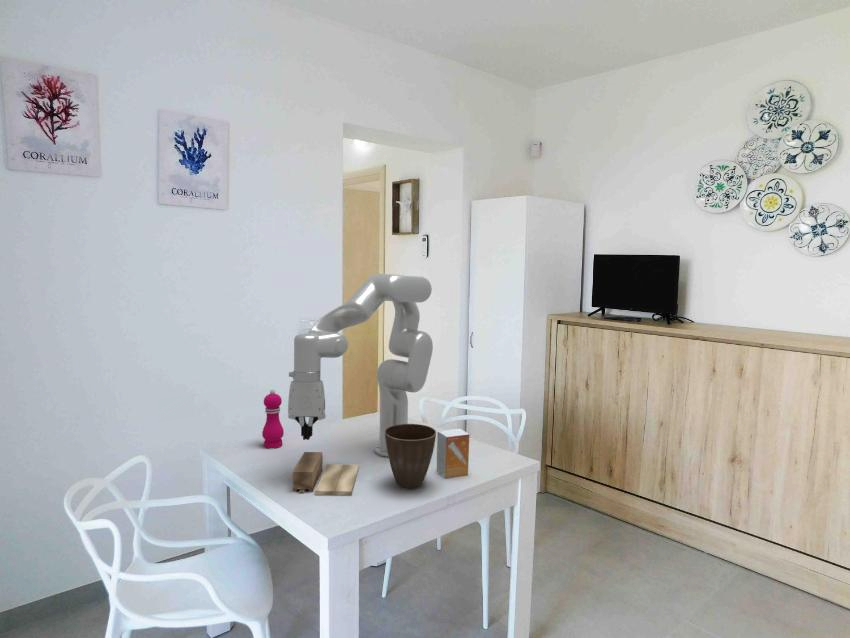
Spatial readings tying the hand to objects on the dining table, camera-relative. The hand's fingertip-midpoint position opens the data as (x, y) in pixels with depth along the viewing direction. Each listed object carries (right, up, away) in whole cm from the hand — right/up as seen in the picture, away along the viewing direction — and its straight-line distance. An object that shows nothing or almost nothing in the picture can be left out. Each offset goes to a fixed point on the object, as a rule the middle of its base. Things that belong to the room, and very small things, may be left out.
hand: (306, 438), depth 161 cm
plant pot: (+30, -14, 0) cm, 33 cm away
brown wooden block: (0, -13, +2) cm, 13 cm away
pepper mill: (-18, -10, +31) cm, 37 cm away
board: (+7, -13, +2) cm, 15 cm away
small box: (+43, -13, +9) cm, 46 cm away
